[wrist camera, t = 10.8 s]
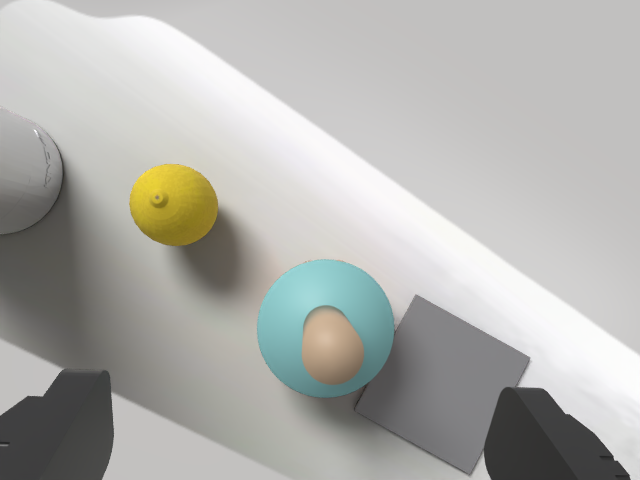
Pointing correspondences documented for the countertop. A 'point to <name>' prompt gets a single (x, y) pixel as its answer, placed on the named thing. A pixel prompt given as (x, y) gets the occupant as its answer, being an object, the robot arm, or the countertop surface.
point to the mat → (441, 384)
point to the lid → (325, 328)
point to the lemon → (173, 204)
